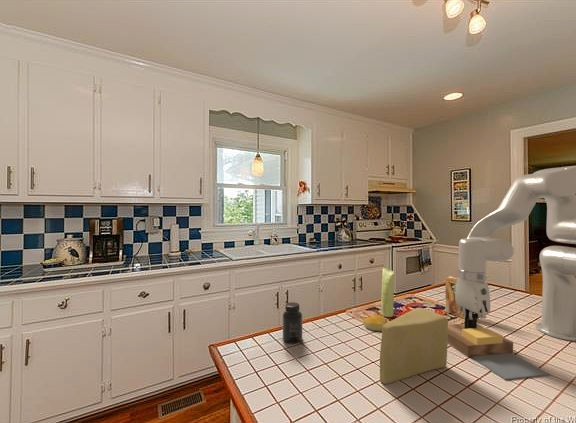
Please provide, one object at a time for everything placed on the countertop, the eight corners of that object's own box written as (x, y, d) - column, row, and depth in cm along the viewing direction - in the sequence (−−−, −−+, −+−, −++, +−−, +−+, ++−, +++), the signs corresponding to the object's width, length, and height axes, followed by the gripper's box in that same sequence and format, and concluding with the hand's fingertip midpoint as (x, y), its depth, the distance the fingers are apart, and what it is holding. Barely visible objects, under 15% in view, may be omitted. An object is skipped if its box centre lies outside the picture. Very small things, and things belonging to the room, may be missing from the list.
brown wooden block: (475, 332, 98) (475, 322, 98) (512, 353, 84) (513, 342, 84) (435, 335, 96) (435, 325, 96) (467, 357, 82) (468, 345, 82)
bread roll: (359, 325, 104) (359, 315, 104) (375, 320, 109) (375, 310, 109) (375, 334, 97) (376, 323, 97) (392, 328, 102) (392, 318, 101)
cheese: (397, 395, 66) (398, 334, 65) (367, 373, 74) (367, 319, 74) (448, 368, 77) (449, 315, 76) (417, 351, 85) (418, 304, 85)
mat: (511, 354, 84) (511, 352, 84) (549, 375, 73) (549, 373, 73) (471, 357, 82) (471, 356, 82) (505, 380, 71) (505, 378, 71)
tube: (396, 314, 114) (396, 268, 114) (393, 318, 110) (394, 271, 109) (382, 311, 117) (382, 267, 117) (379, 315, 113) (379, 269, 112)
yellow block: (485, 333, 90) (486, 327, 90) (502, 343, 84) (502, 336, 84) (461, 335, 88) (461, 329, 88) (477, 345, 82) (477, 337, 82)
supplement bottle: (305, 336, 95) (305, 302, 94) (297, 345, 88) (297, 309, 88) (287, 332, 97) (287, 299, 97) (279, 341, 91) (279, 306, 91)
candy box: (472, 317, 111) (472, 280, 111) (467, 319, 109) (468, 282, 109) (449, 310, 119) (450, 276, 118) (444, 312, 116) (445, 277, 116)
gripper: (502, 281, 83) (500, 340, 84) (464, 270, 98) (463, 319, 98) (480, 282, 82) (479, 341, 83) (445, 270, 97) (444, 321, 97)
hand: (470, 329), depth 91 cm, fingers closed
